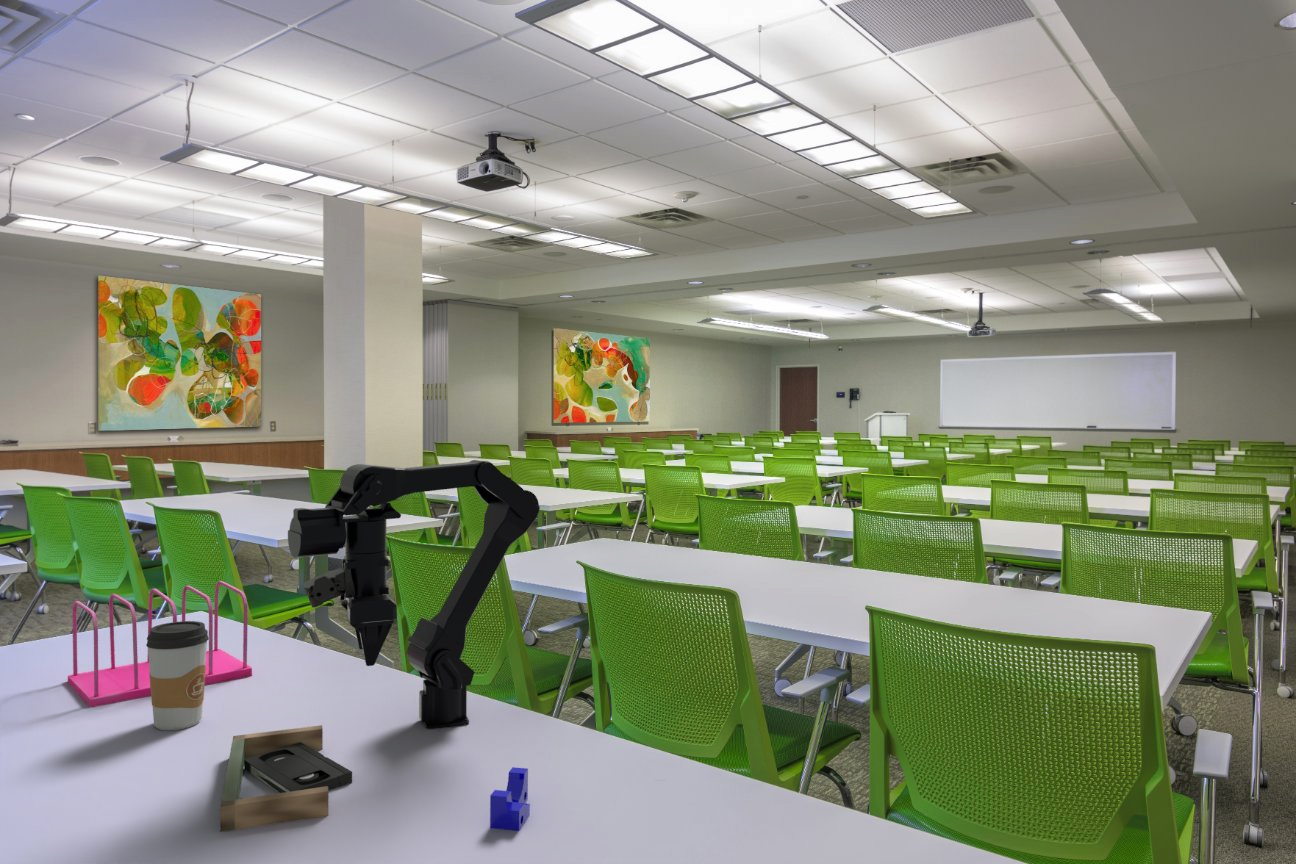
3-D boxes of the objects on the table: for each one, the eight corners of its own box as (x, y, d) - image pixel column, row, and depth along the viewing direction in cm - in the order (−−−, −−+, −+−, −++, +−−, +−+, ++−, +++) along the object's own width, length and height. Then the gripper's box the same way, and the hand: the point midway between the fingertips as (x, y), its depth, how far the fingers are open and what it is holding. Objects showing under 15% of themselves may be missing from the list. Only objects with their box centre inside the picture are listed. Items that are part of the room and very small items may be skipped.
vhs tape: (243, 773, 115) (243, 758, 115) (300, 756, 121) (300, 742, 121) (292, 807, 106) (292, 791, 106) (352, 786, 112) (352, 771, 112)
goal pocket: (322, 745, 124) (322, 725, 124) (328, 816, 102) (328, 791, 102) (233, 757, 119) (233, 735, 119) (220, 833, 98) (220, 807, 98)
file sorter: (252, 677, 155) (252, 590, 155) (90, 710, 138) (89, 612, 137) (220, 657, 168) (219, 576, 167) (67, 685, 150) (66, 595, 150)
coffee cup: (182, 737, 126) (181, 635, 126) (133, 732, 128) (132, 632, 128) (221, 717, 135) (220, 621, 134) (174, 713, 136) (174, 618, 136)
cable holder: (519, 832, 99) (519, 798, 99) (490, 829, 100) (490, 795, 100) (539, 801, 107) (539, 769, 107) (512, 798, 108) (512, 767, 108)
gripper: (303, 544, 131) (304, 646, 132) (310, 565, 114) (311, 682, 115) (379, 540, 136) (379, 639, 136) (397, 559, 119) (397, 672, 119)
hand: (366, 657), depth 127 cm, fingers open, 9 cm apart
